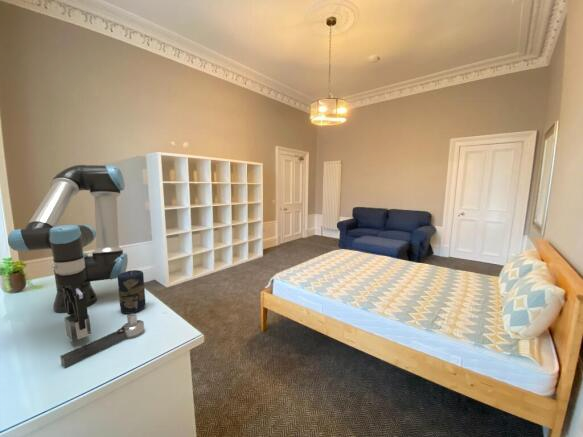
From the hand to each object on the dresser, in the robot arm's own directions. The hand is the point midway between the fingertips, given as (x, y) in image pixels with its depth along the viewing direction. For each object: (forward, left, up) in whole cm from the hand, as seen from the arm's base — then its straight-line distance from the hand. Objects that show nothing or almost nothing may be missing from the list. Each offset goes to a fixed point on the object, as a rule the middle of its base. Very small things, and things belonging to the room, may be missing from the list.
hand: (79, 333), depth 86 cm
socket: (0, 0, 0) cm, 0 cm away
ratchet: (+11, +4, -3) cm, 12 cm away
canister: (-8, +22, -3) cm, 23 cm away
